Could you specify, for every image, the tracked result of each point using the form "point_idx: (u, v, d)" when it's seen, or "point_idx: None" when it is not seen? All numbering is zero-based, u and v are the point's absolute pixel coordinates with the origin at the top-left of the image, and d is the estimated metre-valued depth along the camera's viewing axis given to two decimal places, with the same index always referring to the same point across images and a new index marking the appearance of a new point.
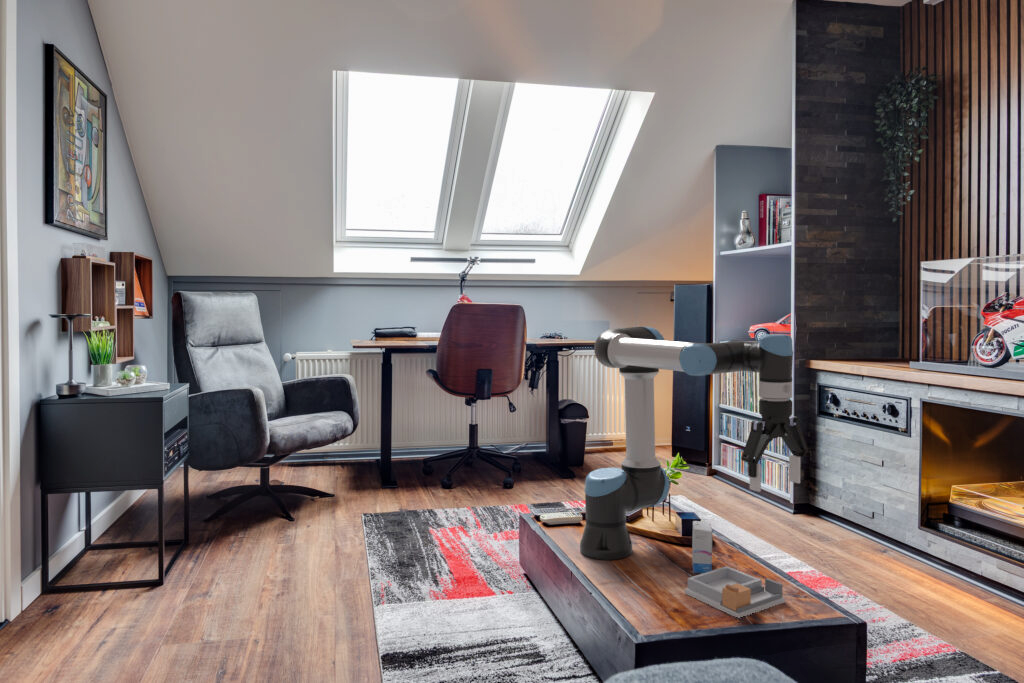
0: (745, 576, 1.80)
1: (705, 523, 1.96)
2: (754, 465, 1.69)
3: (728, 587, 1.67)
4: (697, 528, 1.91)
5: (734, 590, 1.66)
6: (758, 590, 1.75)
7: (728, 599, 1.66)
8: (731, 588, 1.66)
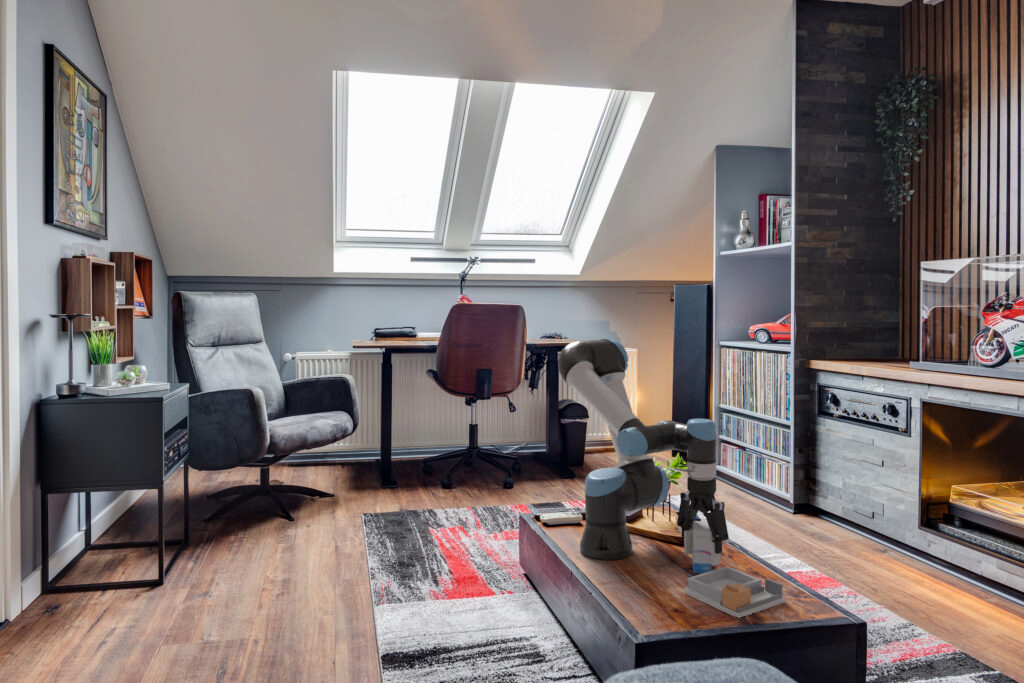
0: (745, 576, 1.80)
1: (705, 523, 1.96)
2: None
3: (728, 587, 1.67)
4: (697, 528, 1.91)
5: (734, 590, 1.66)
6: (758, 590, 1.75)
7: (728, 599, 1.66)
8: (731, 588, 1.66)
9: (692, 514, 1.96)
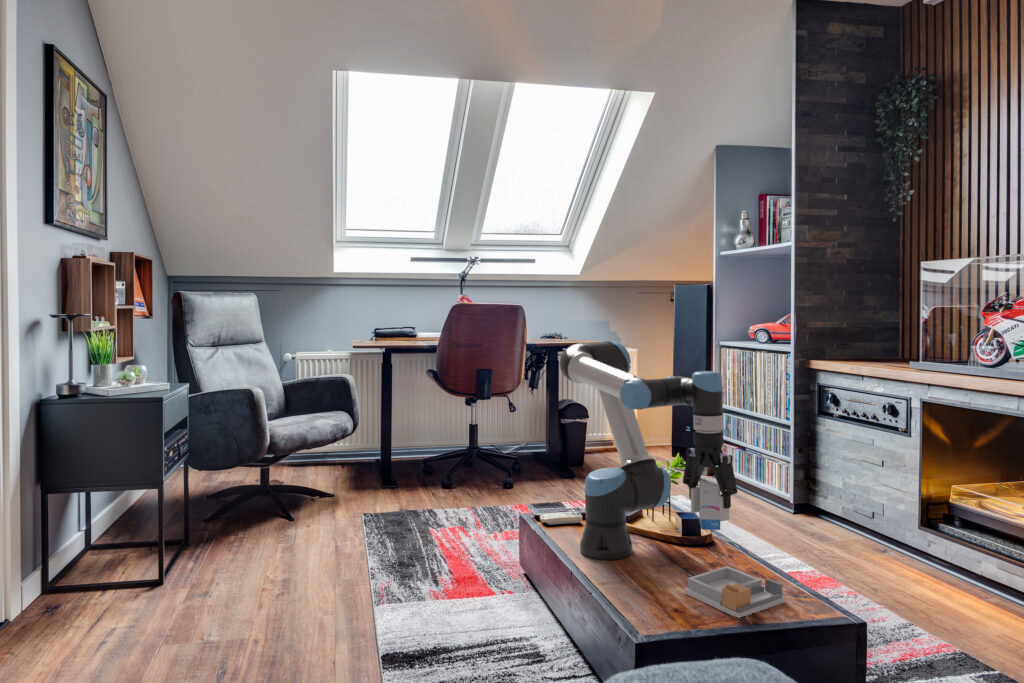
0: (745, 576, 1.80)
1: (712, 479, 1.90)
2: (691, 488, 1.93)
3: (728, 587, 1.67)
4: (704, 483, 1.85)
5: (734, 590, 1.66)
6: (758, 590, 1.75)
7: (728, 599, 1.66)
8: (731, 588, 1.66)
9: (699, 470, 1.90)
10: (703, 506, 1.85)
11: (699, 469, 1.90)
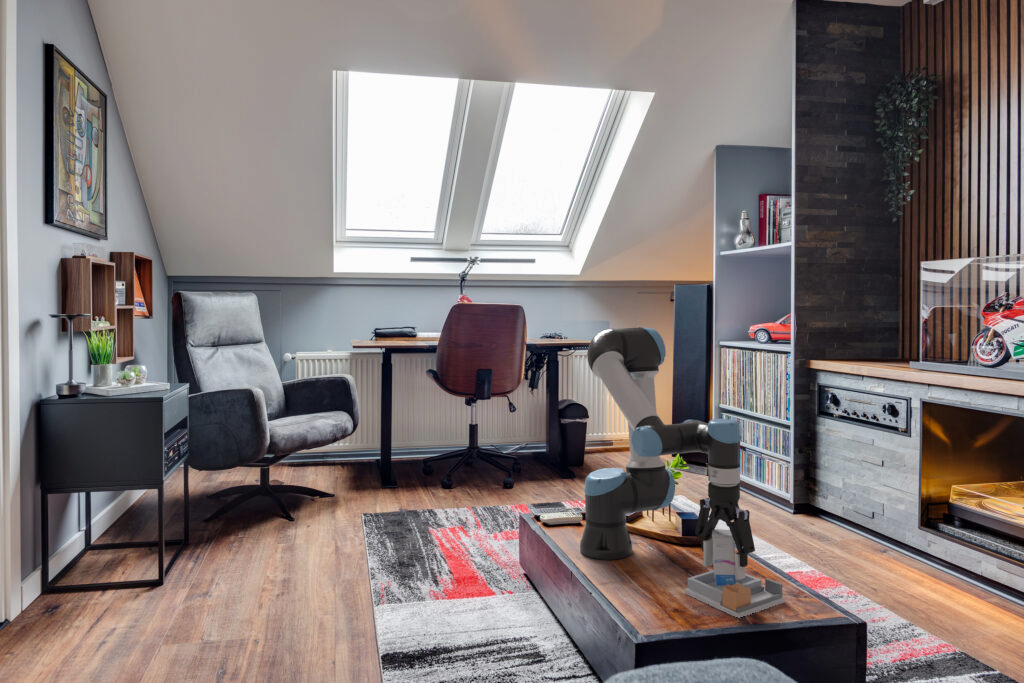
0: (745, 576, 1.80)
1: (726, 531, 1.80)
2: (703, 540, 1.82)
3: (728, 587, 1.67)
4: (717, 536, 1.75)
5: (734, 590, 1.66)
6: (758, 590, 1.75)
7: (728, 599, 1.66)
8: (731, 588, 1.66)
9: (713, 523, 1.79)
10: (716, 560, 1.74)
11: (713, 522, 1.79)
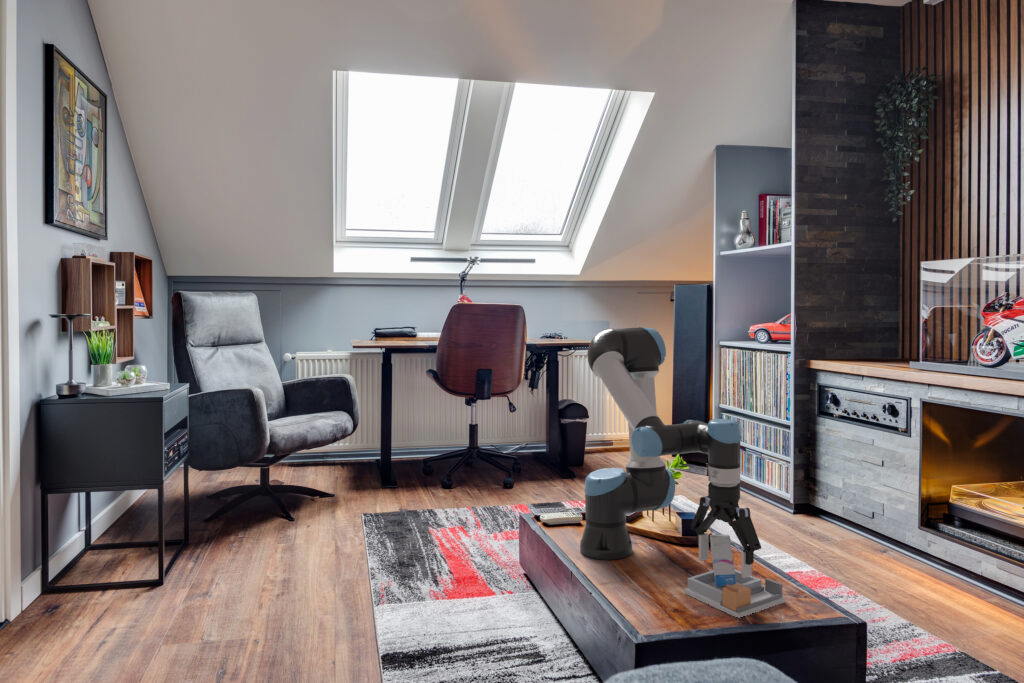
0: None
1: None
2: (698, 534, 1.83)
3: (728, 587, 1.67)
4: (713, 536, 1.77)
5: (734, 590, 1.66)
6: (758, 590, 1.75)
7: (728, 599, 1.66)
8: (731, 588, 1.66)
9: (710, 521, 1.80)
10: (715, 560, 1.75)
11: (711, 520, 1.80)
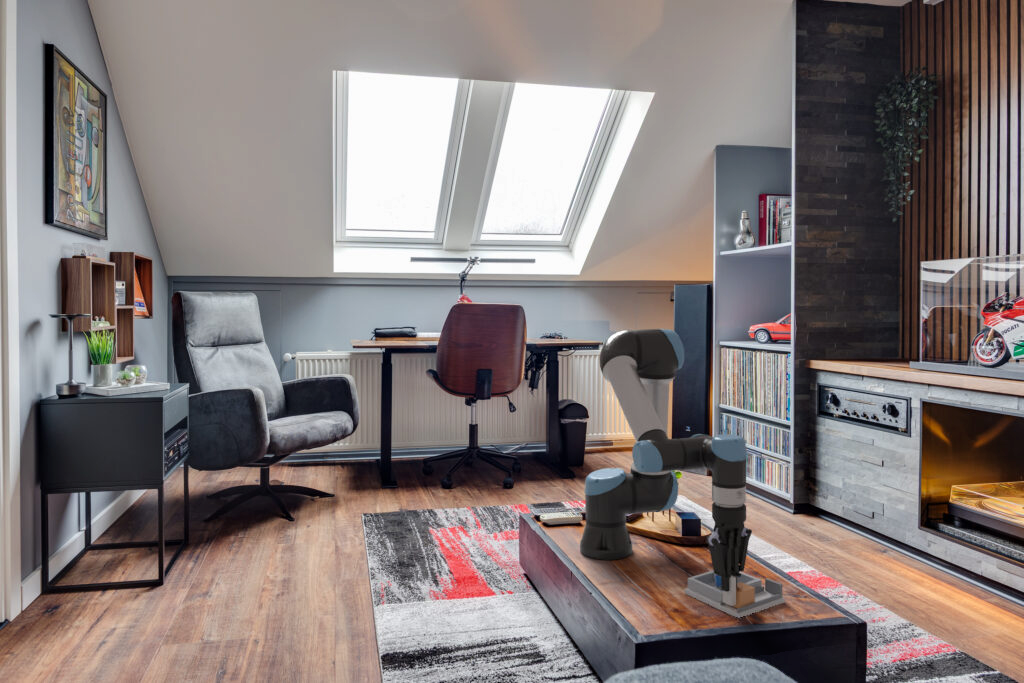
0: (745, 576, 1.80)
1: None
2: (729, 578, 1.65)
3: None
4: None
5: (738, 589, 1.66)
6: (758, 590, 1.75)
7: None
8: None
9: None
10: None
11: None
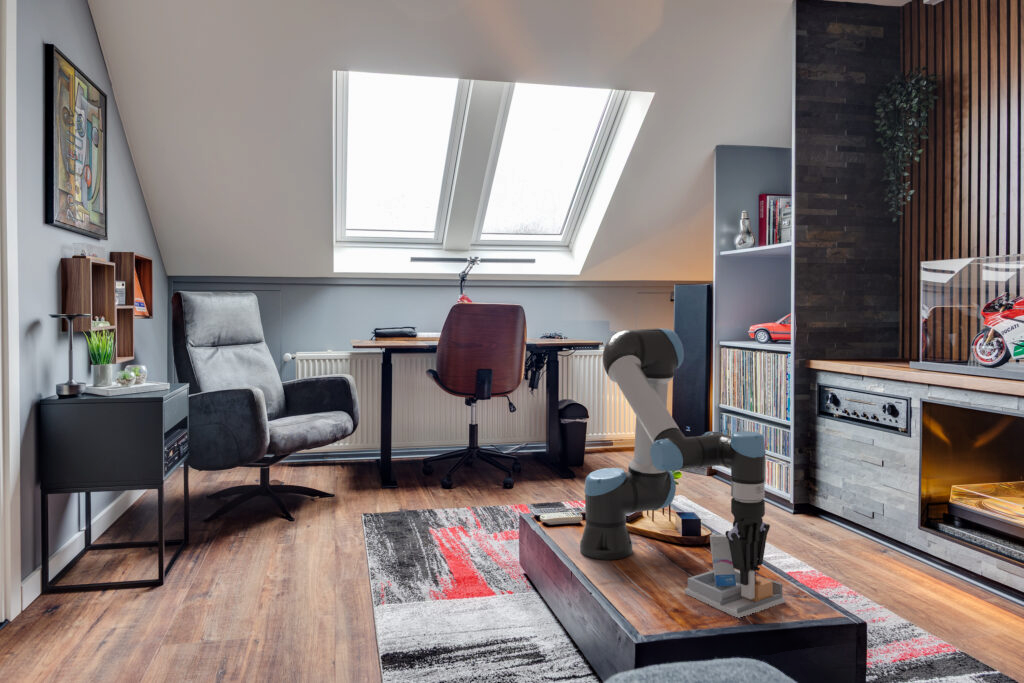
0: None
1: None
2: (748, 572, 1.68)
3: None
4: (713, 536, 1.77)
5: (756, 583, 1.70)
6: None
7: None
8: None
9: None
10: (715, 560, 1.75)
11: None
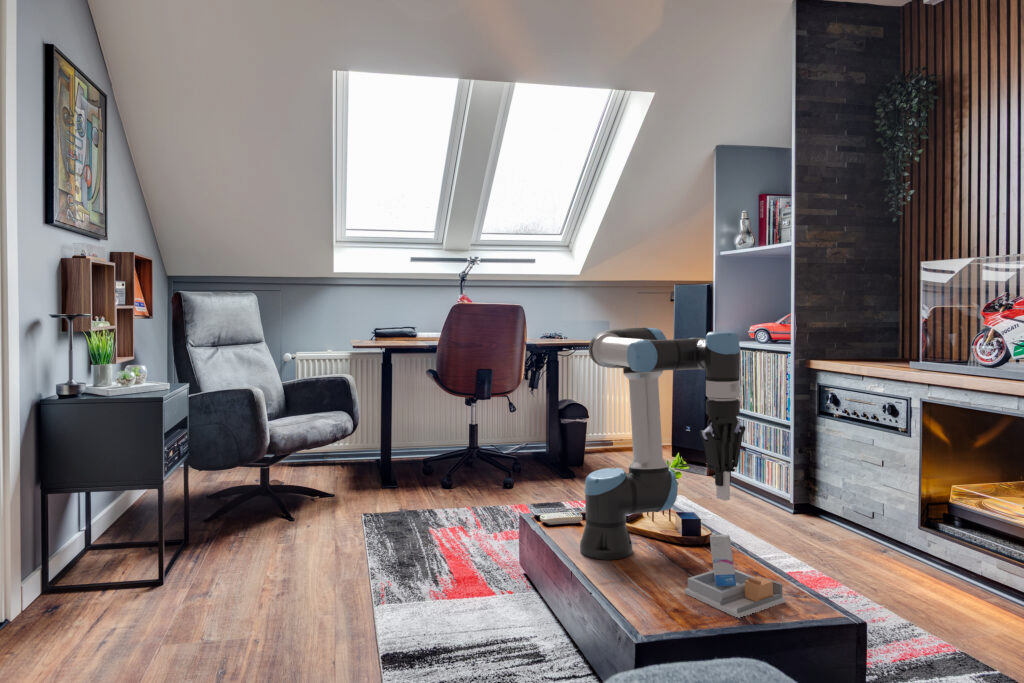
0: (745, 576, 1.80)
1: None
2: (723, 472, 1.66)
3: (751, 580, 1.71)
4: (713, 536, 1.77)
5: (757, 582, 1.70)
6: None
7: (751, 591, 1.70)
8: (754, 581, 1.70)
9: None
10: (715, 560, 1.75)
11: None
